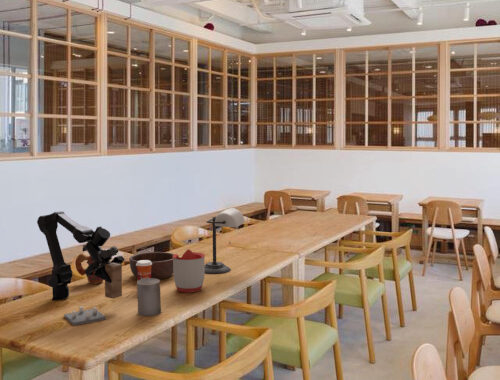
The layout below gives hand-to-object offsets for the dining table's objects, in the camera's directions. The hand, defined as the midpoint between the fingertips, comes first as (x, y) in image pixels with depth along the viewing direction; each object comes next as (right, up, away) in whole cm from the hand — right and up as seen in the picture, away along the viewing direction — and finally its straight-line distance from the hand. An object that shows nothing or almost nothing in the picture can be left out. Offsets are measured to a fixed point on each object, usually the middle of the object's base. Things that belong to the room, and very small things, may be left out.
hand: (115, 280), depth 243 cm
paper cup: (+6, -10, +32) cm, 35 cm away
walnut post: (-1, -7, +1) cm, 7 cm away
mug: (-23, -8, +46) cm, 52 cm away
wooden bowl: (+6, -7, +59) cm, 60 cm away
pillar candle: (+15, -13, -2) cm, 20 cm away
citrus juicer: (+28, -10, +33) cm, 44 cm away
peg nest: (-11, -14, -9) cm, 20 cm away
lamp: (+41, -6, +70) cm, 81 cm away
